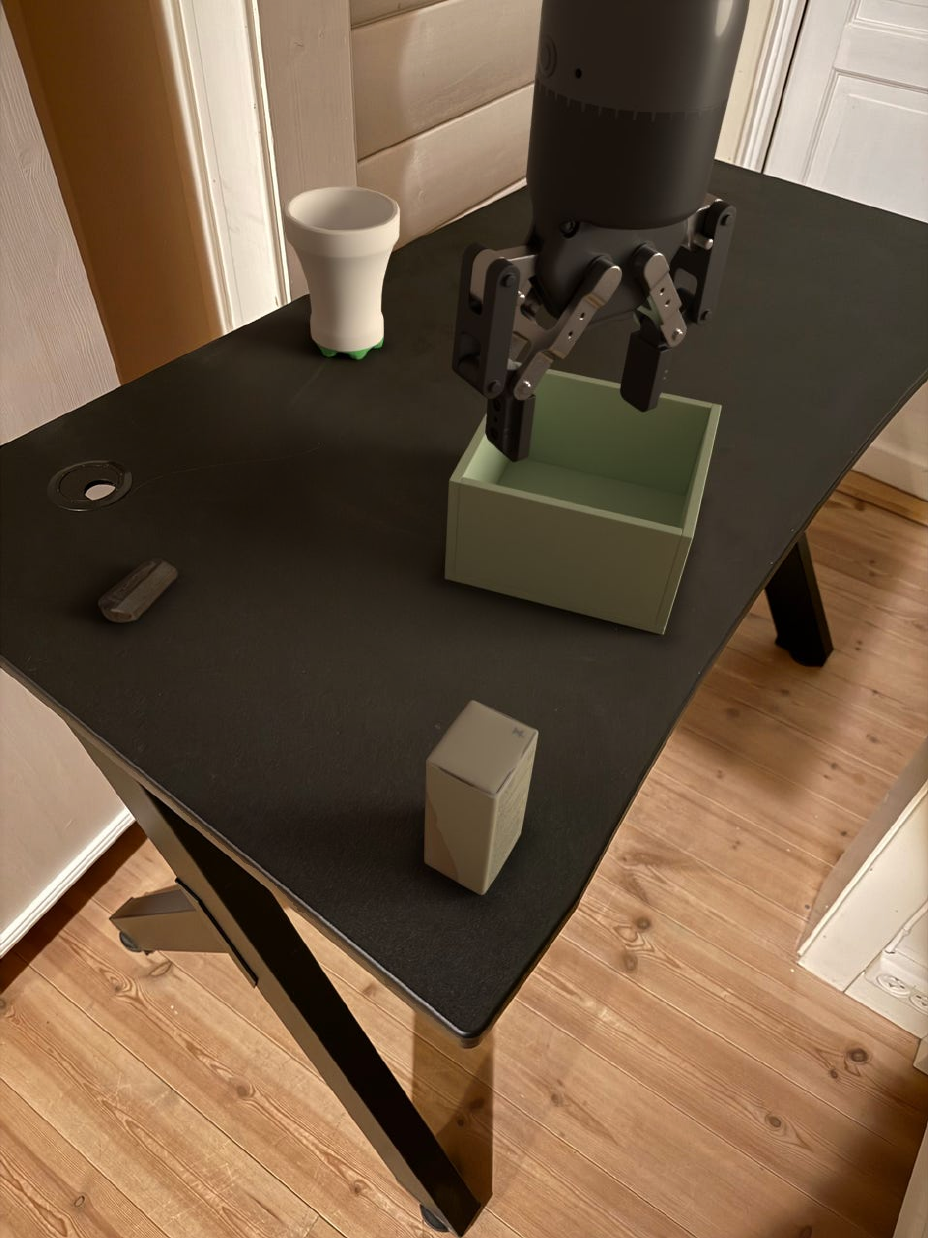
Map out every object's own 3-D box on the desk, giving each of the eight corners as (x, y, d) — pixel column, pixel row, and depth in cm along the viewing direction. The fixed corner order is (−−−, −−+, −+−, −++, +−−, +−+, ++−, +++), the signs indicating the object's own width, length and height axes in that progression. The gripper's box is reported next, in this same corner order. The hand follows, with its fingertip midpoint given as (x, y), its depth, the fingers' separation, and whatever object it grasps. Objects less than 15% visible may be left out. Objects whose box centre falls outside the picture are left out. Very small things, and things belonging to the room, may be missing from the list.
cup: (421, 340, 98) (424, 206, 87) (353, 383, 91) (347, 243, 81) (342, 307, 102) (336, 175, 92) (272, 345, 95) (257, 208, 85)
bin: (694, 499, 81) (722, 404, 74) (663, 635, 69) (692, 538, 62) (504, 456, 84) (514, 361, 77) (444, 579, 72) (448, 480, 65)
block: (182, 581, 70) (178, 564, 69) (130, 631, 67) (124, 614, 65) (145, 566, 71) (141, 549, 70) (91, 614, 68) (85, 596, 66)
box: (464, 802, 58) (474, 693, 50) (523, 834, 56) (543, 727, 48) (419, 866, 55) (423, 760, 47) (482, 901, 53) (496, 798, 45)
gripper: (549, 130, 30) (508, 513, 41) (831, 74, 36) (725, 422, 47) (424, 67, 34) (419, 432, 46) (696, 26, 40) (630, 357, 52)
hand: (575, 427), depth 46 cm, fingers open, 8 cm apart
